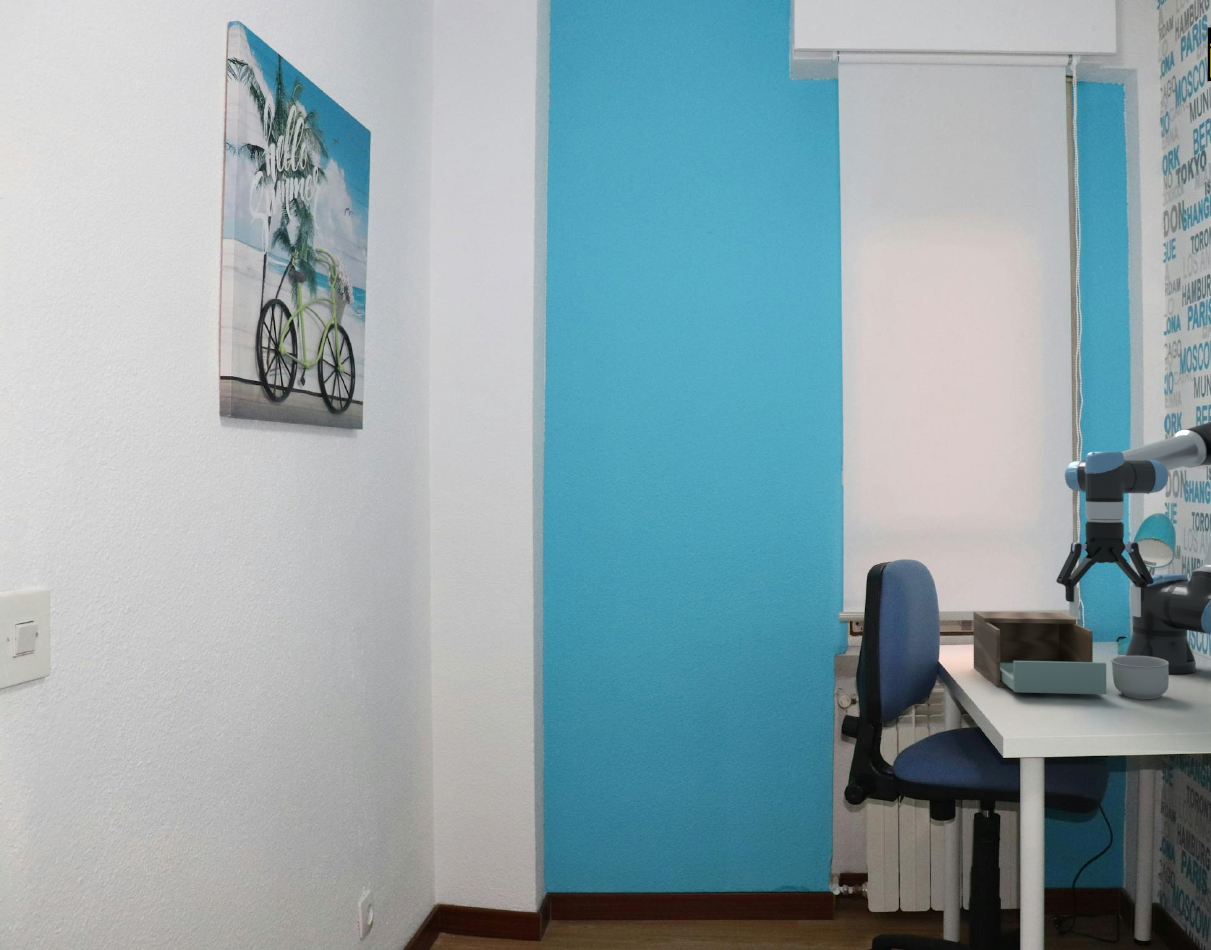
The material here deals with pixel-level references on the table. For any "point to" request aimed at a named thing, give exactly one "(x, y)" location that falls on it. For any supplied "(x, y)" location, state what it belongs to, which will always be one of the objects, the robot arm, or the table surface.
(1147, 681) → the teacup
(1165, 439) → the robot arm
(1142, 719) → the table surface
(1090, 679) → the drawer
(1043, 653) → the cubby
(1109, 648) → the table surface
